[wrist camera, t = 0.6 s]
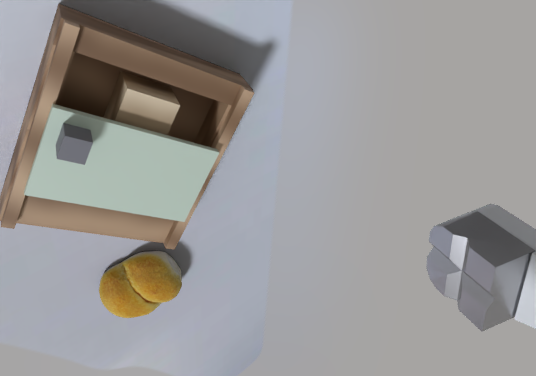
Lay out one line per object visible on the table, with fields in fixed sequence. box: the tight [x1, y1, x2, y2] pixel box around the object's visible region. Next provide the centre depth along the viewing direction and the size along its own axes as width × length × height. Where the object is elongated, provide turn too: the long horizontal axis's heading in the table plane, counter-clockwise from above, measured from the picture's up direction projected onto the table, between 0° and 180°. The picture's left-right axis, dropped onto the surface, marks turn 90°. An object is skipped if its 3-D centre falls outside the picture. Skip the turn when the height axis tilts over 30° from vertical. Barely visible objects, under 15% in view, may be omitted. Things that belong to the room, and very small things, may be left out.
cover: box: [24, 104, 219, 222], centre depth 39 cm, size 8×14×3 cm, turn 60°
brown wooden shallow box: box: [0, 4, 254, 249], centre depth 41 cm, size 18×16×4 cm
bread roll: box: [99, 251, 182, 318], centre depth 53 cm, size 8×9×4 cm
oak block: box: [103, 71, 180, 135], centre depth 40 cm, size 4×4×4 cm
